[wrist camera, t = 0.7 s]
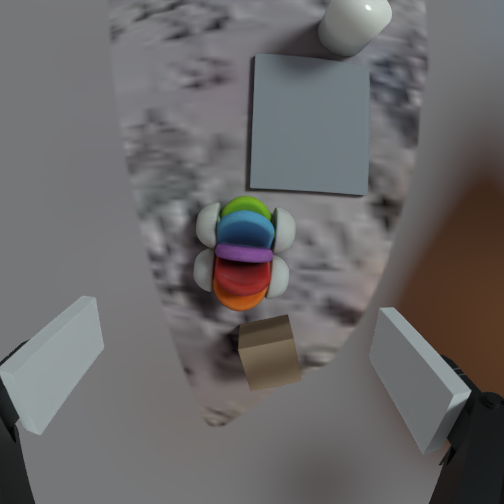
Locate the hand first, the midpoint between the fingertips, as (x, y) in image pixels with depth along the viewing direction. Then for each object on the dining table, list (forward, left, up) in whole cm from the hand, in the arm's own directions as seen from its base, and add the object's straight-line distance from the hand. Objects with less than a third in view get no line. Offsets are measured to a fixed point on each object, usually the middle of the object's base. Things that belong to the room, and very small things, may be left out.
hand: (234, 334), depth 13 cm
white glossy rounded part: (-22, +9, -17) cm, 29 cm away
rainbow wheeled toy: (0, 0, -17) cm, 17 cm away
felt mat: (-12, +6, -17) cm, 21 cm away
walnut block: (+10, +3, -17) cm, 20 cm away
